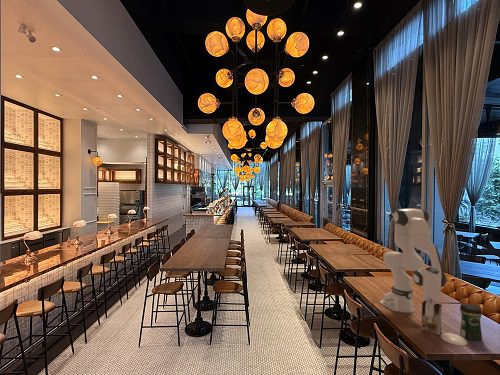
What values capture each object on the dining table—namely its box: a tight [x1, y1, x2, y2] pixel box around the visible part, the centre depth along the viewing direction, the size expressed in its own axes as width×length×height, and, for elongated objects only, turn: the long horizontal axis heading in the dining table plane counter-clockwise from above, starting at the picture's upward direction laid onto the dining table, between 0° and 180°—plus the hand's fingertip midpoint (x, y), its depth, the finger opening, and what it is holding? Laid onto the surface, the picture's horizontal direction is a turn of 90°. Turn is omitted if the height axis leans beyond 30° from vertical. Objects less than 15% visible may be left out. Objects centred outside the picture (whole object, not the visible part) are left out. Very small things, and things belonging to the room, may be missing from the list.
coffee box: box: [421, 299, 443, 335], centre depth 170 cm, size 9×6×16 cm
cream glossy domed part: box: [440, 332, 468, 347], centre depth 159 cm, size 12×12×1 cm
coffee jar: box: [459, 303, 483, 341], centre depth 163 cm, size 10×8×19 cm
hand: (431, 319), depth 170 cm, fingers open, 8 cm apart
